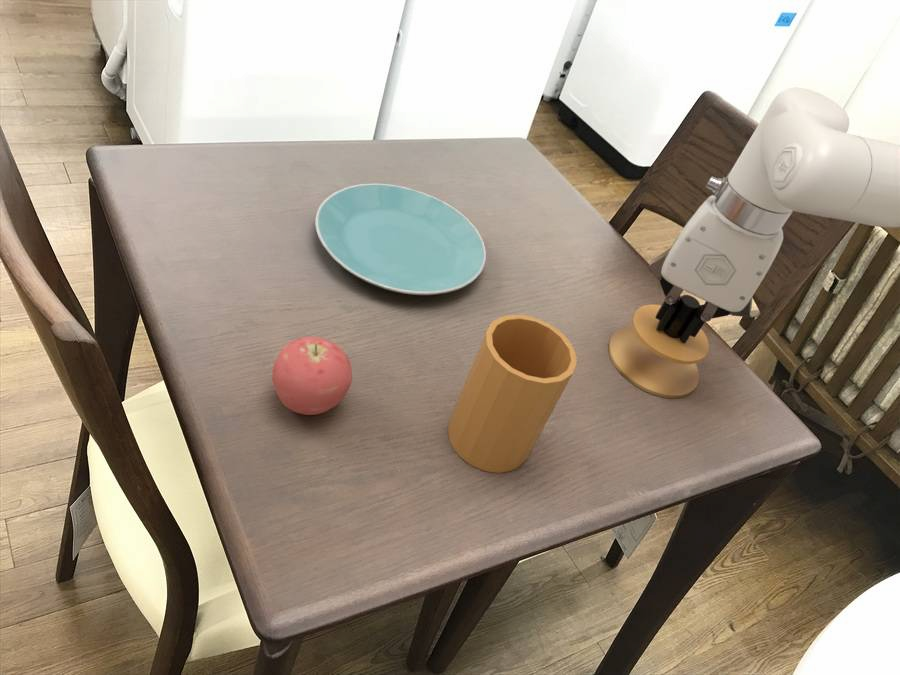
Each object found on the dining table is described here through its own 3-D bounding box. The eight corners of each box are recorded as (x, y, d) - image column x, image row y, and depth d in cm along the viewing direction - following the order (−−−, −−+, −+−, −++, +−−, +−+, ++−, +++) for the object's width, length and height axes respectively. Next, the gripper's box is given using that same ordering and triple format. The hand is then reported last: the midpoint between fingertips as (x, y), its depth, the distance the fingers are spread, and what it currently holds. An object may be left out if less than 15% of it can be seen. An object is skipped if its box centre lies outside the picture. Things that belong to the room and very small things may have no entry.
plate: (491, 320, 94) (498, 303, 92) (308, 294, 88) (312, 275, 86) (470, 215, 110) (475, 199, 108) (314, 188, 104) (317, 170, 102)
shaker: (544, 447, 81) (594, 359, 72) (491, 487, 75) (538, 396, 66) (485, 394, 84) (525, 303, 76) (430, 428, 79) (467, 334, 70)
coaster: (713, 374, 98) (715, 371, 98) (667, 412, 90) (669, 410, 90) (639, 317, 103) (641, 314, 102) (590, 350, 95) (591, 347, 95)
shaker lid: (717, 348, 95) (743, 312, 91) (680, 379, 89) (705, 342, 85) (655, 301, 99) (677, 265, 95) (614, 328, 93) (636, 289, 89)
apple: (252, 397, 75) (260, 339, 70) (305, 364, 80) (317, 308, 75) (305, 443, 73) (318, 387, 68) (357, 406, 78) (373, 351, 73)
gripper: (675, 188, 79) (604, 316, 91) (822, 256, 77) (729, 379, 89) (687, 161, 85) (619, 285, 97) (824, 224, 83) (737, 344, 95)
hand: (672, 329), depth 93 cm, fingers closed on shaker lid, 2 cm apart
